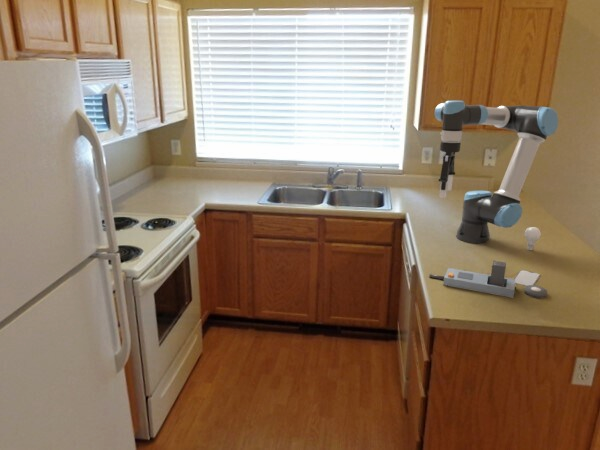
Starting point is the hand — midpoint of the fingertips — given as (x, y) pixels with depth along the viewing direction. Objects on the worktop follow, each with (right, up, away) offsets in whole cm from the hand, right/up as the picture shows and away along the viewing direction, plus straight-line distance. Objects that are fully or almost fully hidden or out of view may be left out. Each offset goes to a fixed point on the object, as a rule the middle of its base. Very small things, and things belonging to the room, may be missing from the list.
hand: (445, 193), depth 188 cm
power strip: (+5, -35, -14) cm, 38 cm away
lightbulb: (+44, -24, +19) cm, 54 cm away
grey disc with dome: (+26, -37, -22) cm, 50 cm away
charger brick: (+13, -36, -18) cm, 42 cm away
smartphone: (+28, -34, -9) cm, 45 cm away
